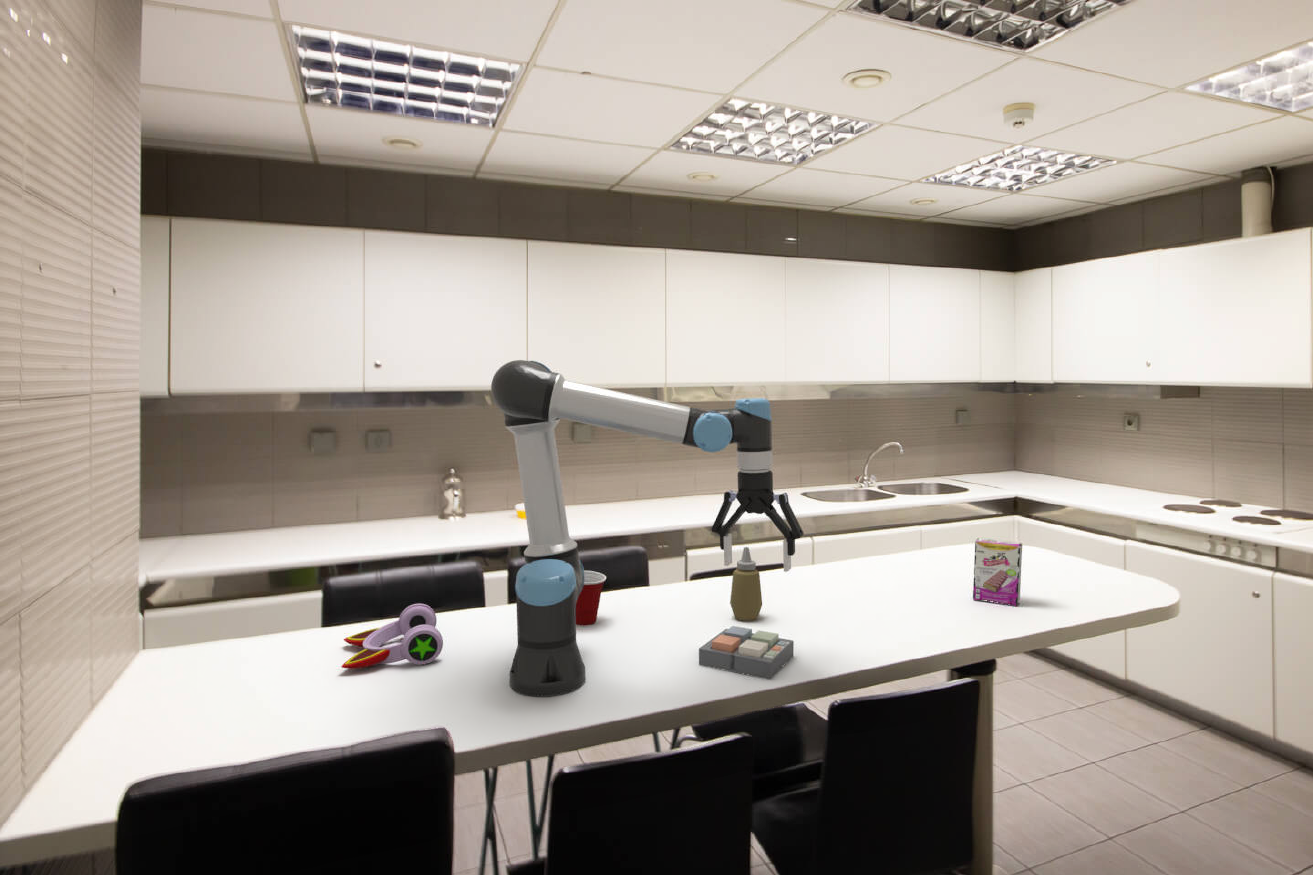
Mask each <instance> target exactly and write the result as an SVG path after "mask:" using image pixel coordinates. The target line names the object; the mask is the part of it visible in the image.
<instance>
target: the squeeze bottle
mask: <svg viewBox="0 0 1313 875" xmlns="http://www.w3.org/2000/svg"><path fill="white" fill-rule="evenodd" d="M756 565H757V563H756V561H754V560H752V557H751V553H750V548H749V547H747V546H744V547H743V551H742V554H741V560H740V559H739V560H738V561H737V562H736V569H735V570H733V572H732V579H731V580H732V582H731V590H730V591H731V592H730V603H729V604H730V607H731V611H732V613H733V616H734V618H735V619H736V620H739V621H743V622H744V621H747V622H748V621H755V620H757V619H758V618H759V616H760V612H761V609H762V607H763V597H762V588H761V577H760V571H759V570H758V569H756Z"/></svg>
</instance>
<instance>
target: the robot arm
mask: <svg viewBox="0 0 1313 875" xmlns="http://www.w3.org/2000/svg"><path fill="white" fill-rule="evenodd" d="M490 392H491V397H492V399H493V402H494V404H495V405H496V407H497V408H498V409H499V410H500V411H501V412H502V413H503V418H504V424H505V425H504V426H505V429H507V431H509V432H510V433H511V434H513V436H514V443H515V450H516V457H517V464H518V470H519V479H520V485H521V493H522V497H523V499H522V500H523V505H524V506H523V507H524V512H525V514H524V515H525V520H526V526H527V534H528V539H529V544H528V545H527V547H526V548H525V550H524V551H523V556H524V563H525V564H524V565H523V566H521V567H520V568H519V569H518V571H517V573H516V577H515V578H516V581H515V585H514V586H515V587H514V588H515V589H514V590H515V594H516V595H515V596H516V598H515V599H516V628H517V629H516V630H517V632H516V633H517V647H516V650H515V653H514V656H513V660H512V663H511V667H510V670H509V675H508V676H509V686H510V688H511V689H512V690H513V691H515V692H516V693H518V694H521V695H525V696H532V697H550V696H551V697H552V696H558V695H563V694H568V693H570V692H573V691H575V690H577V689H578V688H580V687H581V686H582V685H584V683H585V682H586V677H587V676H586V665H585V664H584V662H583V660H582V659H583V658H582V655H581V652H580V650H579V646H578V643H577V625H576V603H577V600H578V597H579V594H580V593H581V591H582V588H583V585H584V579H585V574H584V571H585V569H584V566H583V563H582V562H581V559H580V554H579V547H578V542H576V541H575V540H574V539H572V538H571V537H570V533H569V527H568V518H567V512H566V507H565V506H566V505H565V496H564V490H563V485H562V483H563V482H562V476H561V470H560V469H561V468H560V463H559V462H560V461H559V456H558V454H559V453H558V447H557V441H556V434H555V428H556V426H557V425H558V424H559V422H560V421H561V420H560V419H562V420H566V421H572V422H576V423H581V424H585V425H590V426H595V427H600V428H604V429H609V430H614V431H619V432H622V433H628V434H631V435H637V436H642V437H646V438H651V439H656V440H661V441H666V442H671V443H673V444H674V443H675V444H680V445H684V446H688V447H692V448H697V449H701V450H702V451H703V452H707V453H717V452H720V451H723V450H724V449H726V448H727V447H728V445H729V444H731V445H732V444H736V469H738V470H739V471H738V472H737V492H734V491H733V490H728V491H726V492H724V494H723V502H722V504H721V507H720V509H719V511H718V514H717V516H716V518H715V520H714V522H713V524H712V526H711V532H712V533H716V534H718V535H719V542H720V543H719V547H720V550H722V551H723V557H724V558H723V559H724V561H723V562H724V563H723V564H724V566H725V567H729V566H730V565H731V564H733V549H732V548H733V540H732V539H733V538H732V536H733V535H732V534H731V533H729V532H730V531H731V529H732V528H734V526H735V525H736V524H737V522H738V521H739V520H740V518H741V517H742V516H743V515H744V514H745V513H747V514H757V515H763V514H764V515H765V516H766V517H768V518H769V519H770V520H771V522H772V523H773V524H774V526H775V527H776V528H777V530H778V531H779V532H780V533H781V535H782V536H783V537H784V538H785V539H784V540H783V541H782V546H783V547H782V548H783V550H782V551H783V552H782V553H783V558H782V559H783V572H790V571H791V569H792V557H793V556H794V555H795V553H796V540H797V539H800V538H802V537H803V536H804V531H803V529H802V527H801V525H800V522H799V521H798V519H797V516H796V515H795V513H794V511H793V509H792V507H791V505H790V501H789V494H788V493H787V492H783V493H780V494H779V493H778V494H775V493H774V481H773V480H774V479H773V478H774V476H773V475H774V474H773V473H774V472H773V471H772V470H771V469H772V468H773V441H772V440H773V439H772V438H773V437H772V436H773V435H772V433H773V432H772V427H773V424H772V421H773V419H772V411H771V410H772V409H771V403H770V401H769V400H768V399H767V398H763V397H762V398H759V397H757V398H740V399H737V400H735V405H734V407H732V408H727V409H726V408H725V409H724V408H723V409H721V408H719V409H717V408H715V409H711V408H710V409H701V408H696V407H690V406H687V405H686V406H685V405H681V404H677V403H672V402H669V401H668V402H667V401H664V400H659V399H653V398H649V397H645V396H640V395H636V394H631V393H627V392H626V393H625V392H623V391H622V392H621V391H617V390H612V389H608V388H603V387H598V386H594V385H590V384H589V385H588V384H585V383H580V382H576V381H571V380H566V379H565V378H564V376H563V375H562V373H558V372H554V371H552V370H551V369H550V368H549V367H548V366H546V365H545V364H543V363H541V362H538V361H536V360H523V359H519V360H512V361H508V362H507V363H505V364H503V365H502V366H500V367H499V369H498V370H496V372H495V374H494V376H493V377H492V380H491V384H490ZM736 500H737V501H738V503H739V506H738V507H737V508H736V510H735V512H734V513H733V514H732V515H731V516H730V518H729V519H728V520H727V522H726V523H725V524H724V522H725V520H726V518H727V515H728V513H729V511H730V508H731V507H732V504H733V502H734V501H736ZM774 501H775V502H776V503H777V504H778V505H779V506H780V509H781V512H782V514H783V515H784V517H785V520H786V521H785V520H784V519H783V517H782V516H781V515H780V514H779V513H778V511H777V509H776V508H775V507H774V505H773V503H774ZM786 522H787V523H786ZM723 524H724V525H723Z"/></svg>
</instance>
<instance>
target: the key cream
mask: <svg viewBox="0 0 1313 875" xmlns="http://www.w3.org/2000/svg"><path fill="white" fill-rule="evenodd" d="M767 652H768V643H764V642H759V641H753V640H748V639H747V640H746V641H745V642H744V643H742V644H741V645H740V646H739V654H741V655H746V656H752V657H757V658H761V657H762V656H763V655H765V654H766V653H767Z"/></svg>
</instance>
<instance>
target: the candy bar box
mask: <svg viewBox="0 0 1313 875" xmlns="http://www.w3.org/2000/svg"><path fill="white" fill-rule="evenodd" d="M974 542H975V543H974V563H973V564H974V567H973V585H972V586H973V587H972V588H973V590H972V600H973V599H975V600H974V601H977V600H987V601H993V602H998V603H1003V604H1002V605H1004V604H1010V605H1015V606H1014V607H1018V606H1019V604H1020V602H1021V583H1022V582H1021V581H1022V560H1023V558H1022V557H1023V543H1022V542H1019V541H1007V540H999V539H998V540H997V539H992V538H990V539H989V538H983V537H979V538H977V539H976V540H975V541H974ZM1018 603H1019V604H1018ZM1010 605H1009V606H1010ZM1017 605H1018V606H1017Z"/></svg>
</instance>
